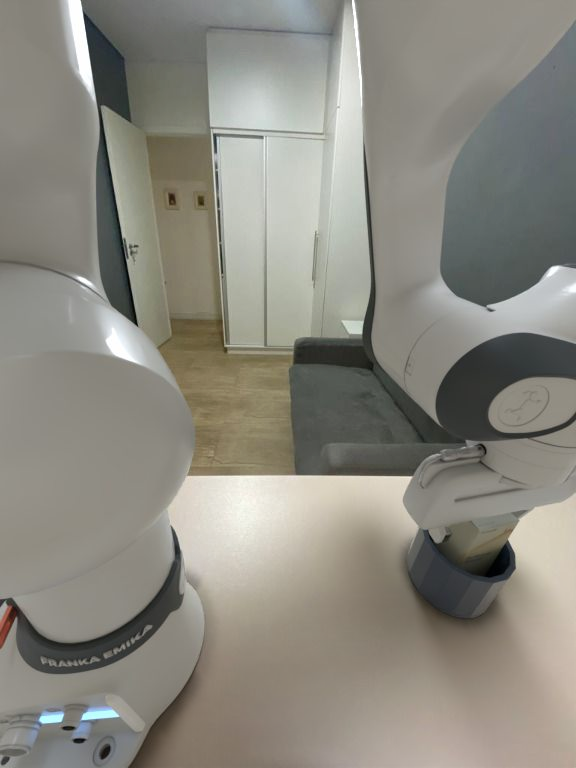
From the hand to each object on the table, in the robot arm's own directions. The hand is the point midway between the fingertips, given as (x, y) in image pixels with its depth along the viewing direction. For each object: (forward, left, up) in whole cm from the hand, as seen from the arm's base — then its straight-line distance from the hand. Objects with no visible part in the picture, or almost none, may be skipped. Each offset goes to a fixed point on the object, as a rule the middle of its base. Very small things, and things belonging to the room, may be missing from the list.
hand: (470, 529), depth 37 cm
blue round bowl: (0, 0, -10) cm, 10 cm away
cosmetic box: (+1, 0, -9) cm, 9 cm away
